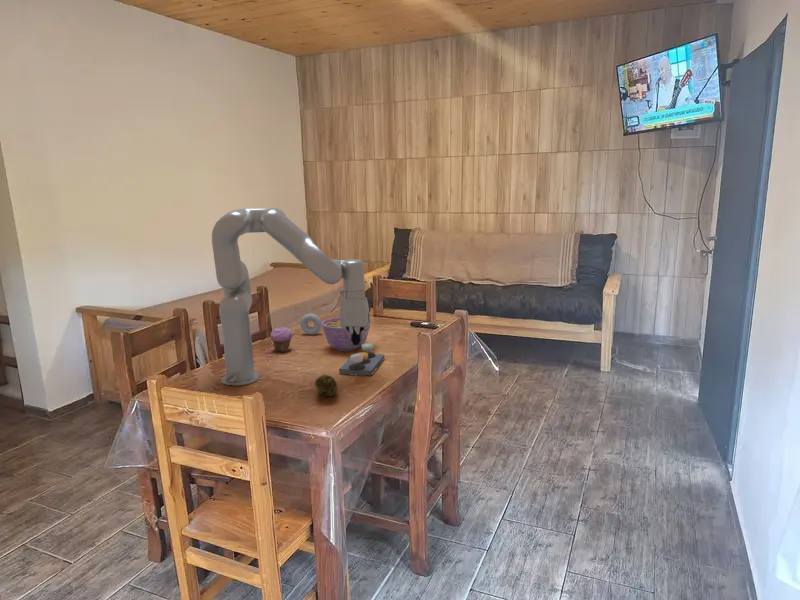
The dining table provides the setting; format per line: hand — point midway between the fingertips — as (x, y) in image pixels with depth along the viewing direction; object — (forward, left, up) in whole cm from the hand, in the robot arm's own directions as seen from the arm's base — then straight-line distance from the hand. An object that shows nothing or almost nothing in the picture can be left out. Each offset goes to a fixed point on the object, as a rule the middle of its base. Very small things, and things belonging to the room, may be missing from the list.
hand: (356, 343), depth 203 cm
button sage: (+14, 0, -6) cm, 15 cm away
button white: (0, 0, -6) cm, 6 cm away
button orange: (+7, 0, -8) cm, 10 cm away
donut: (+46, +36, -11) cm, 59 cm away
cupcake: (+21, +39, -11) cm, 46 cm away
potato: (-23, +3, -11) cm, 26 cm away
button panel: (+7, 0, -11) cm, 13 cm away
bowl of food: (+28, +13, -11) cm, 33 cm away
